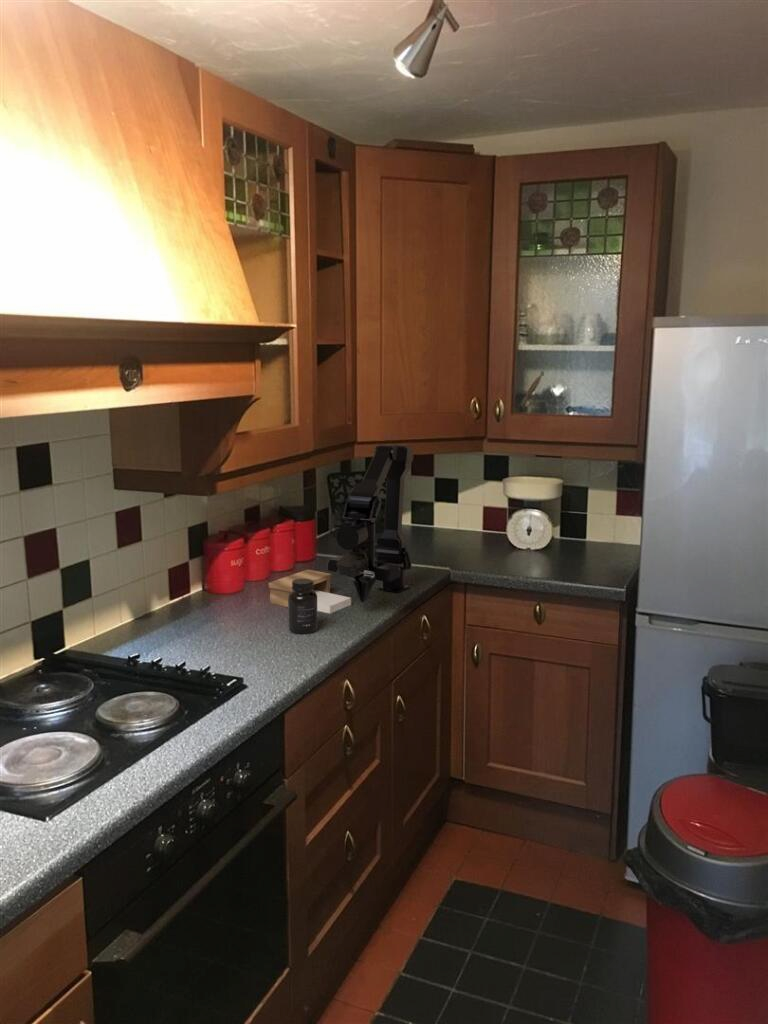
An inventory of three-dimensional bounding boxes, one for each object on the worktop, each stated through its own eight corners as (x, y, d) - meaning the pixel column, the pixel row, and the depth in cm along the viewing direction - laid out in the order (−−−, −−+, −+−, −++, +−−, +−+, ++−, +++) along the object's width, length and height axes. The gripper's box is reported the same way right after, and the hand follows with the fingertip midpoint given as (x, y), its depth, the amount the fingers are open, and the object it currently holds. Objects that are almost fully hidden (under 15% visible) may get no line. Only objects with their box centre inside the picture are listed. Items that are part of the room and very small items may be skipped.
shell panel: (302, 596, 232) (302, 587, 231) (351, 606, 223) (351, 597, 222) (280, 604, 224) (280, 595, 224) (330, 615, 215) (330, 606, 215)
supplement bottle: (285, 627, 205) (284, 578, 203) (313, 624, 207) (312, 575, 205) (292, 636, 199) (292, 586, 196) (321, 633, 201) (320, 583, 199)
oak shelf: (307, 589, 236) (307, 569, 235) (331, 594, 232) (331, 574, 230) (269, 603, 223) (268, 582, 222) (293, 609, 218) (292, 587, 217)
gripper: (313, 541, 211) (313, 603, 214) (376, 552, 201) (376, 616, 204) (340, 533, 220) (340, 592, 223) (402, 543, 210) (401, 605, 213)
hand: (363, 601), depth 216 cm, fingers closed
